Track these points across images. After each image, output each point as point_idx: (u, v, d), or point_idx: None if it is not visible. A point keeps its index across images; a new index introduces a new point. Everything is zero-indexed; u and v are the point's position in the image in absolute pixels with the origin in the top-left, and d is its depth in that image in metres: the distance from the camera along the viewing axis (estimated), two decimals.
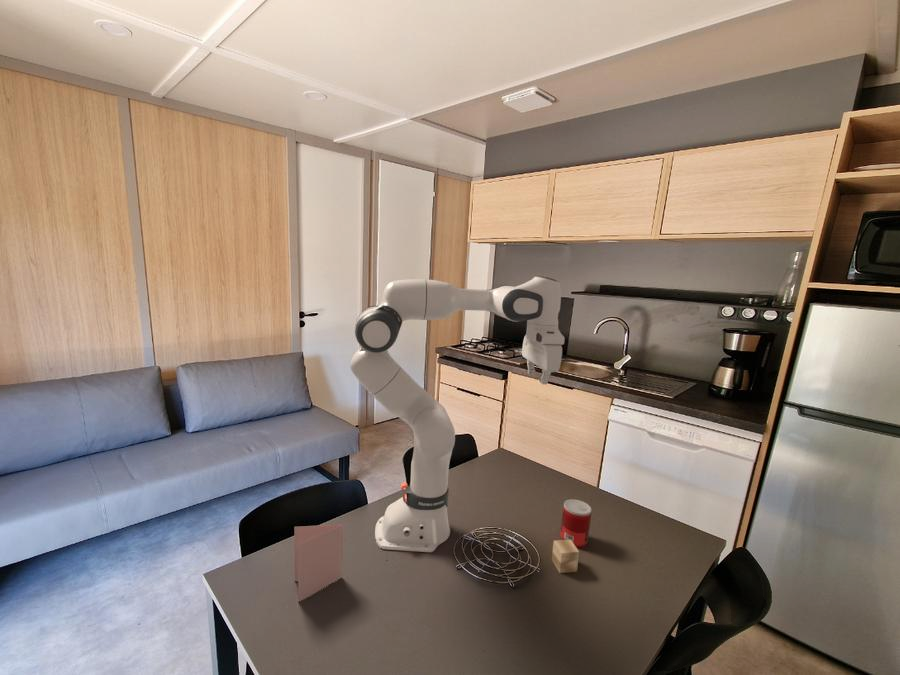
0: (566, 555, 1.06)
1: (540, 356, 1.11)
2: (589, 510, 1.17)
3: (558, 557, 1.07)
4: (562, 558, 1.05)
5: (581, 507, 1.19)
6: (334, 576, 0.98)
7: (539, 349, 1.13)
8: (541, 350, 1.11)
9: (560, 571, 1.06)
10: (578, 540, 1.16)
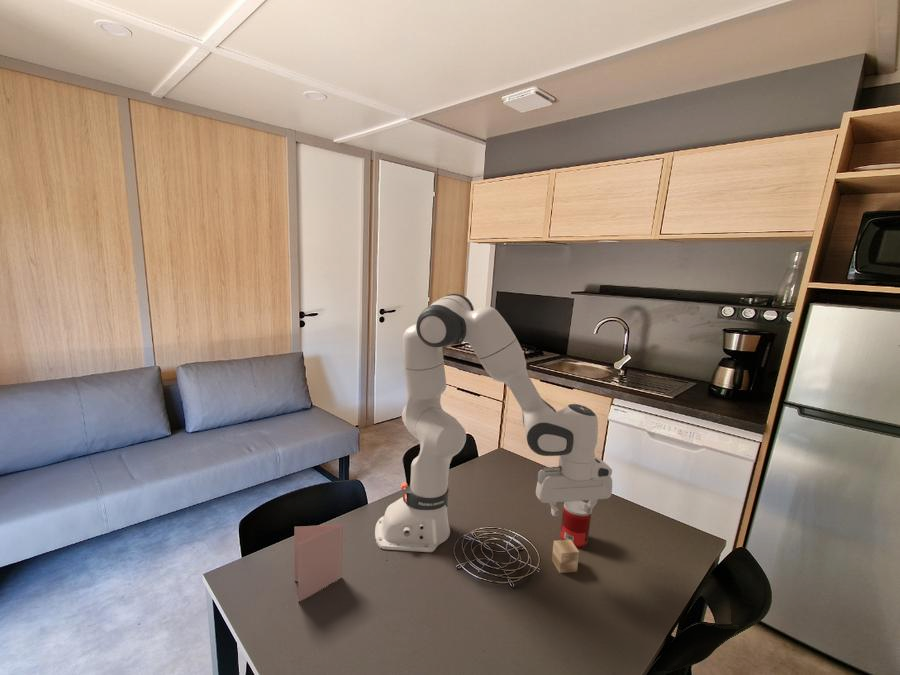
0: (566, 555, 1.06)
1: (594, 489, 1.04)
2: None
3: (558, 557, 1.07)
4: (562, 558, 1.05)
5: (581, 507, 1.19)
6: (334, 576, 0.98)
7: (588, 483, 1.04)
8: (593, 482, 1.04)
9: (560, 571, 1.06)
10: (578, 540, 1.16)
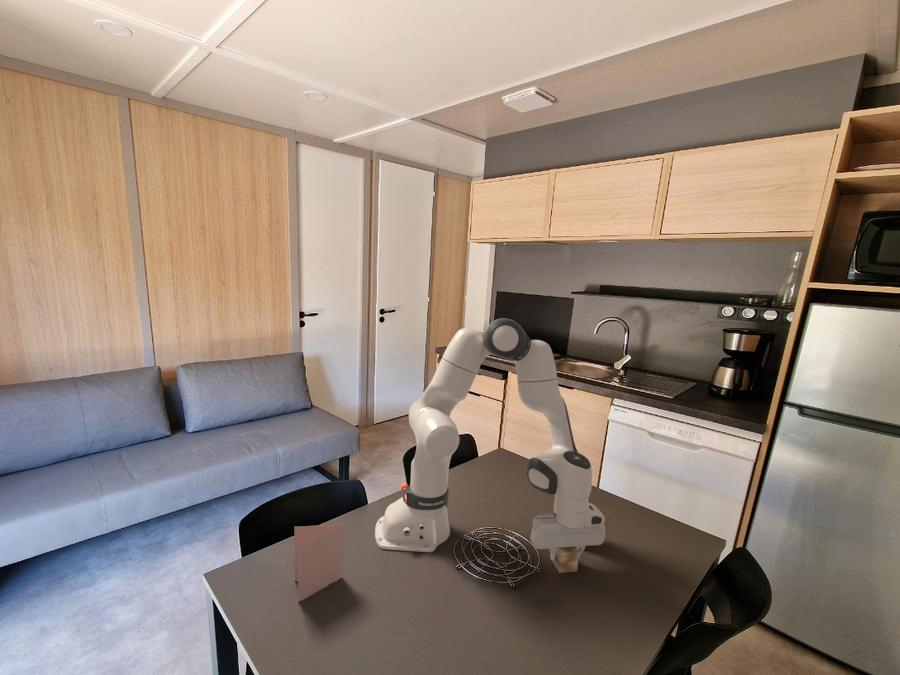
0: (566, 555, 1.06)
1: (587, 535, 1.07)
2: None
3: (558, 557, 1.07)
4: (562, 557, 1.05)
5: None
6: (334, 576, 0.98)
7: (581, 529, 1.06)
8: (586, 529, 1.06)
9: (560, 571, 1.06)
10: None
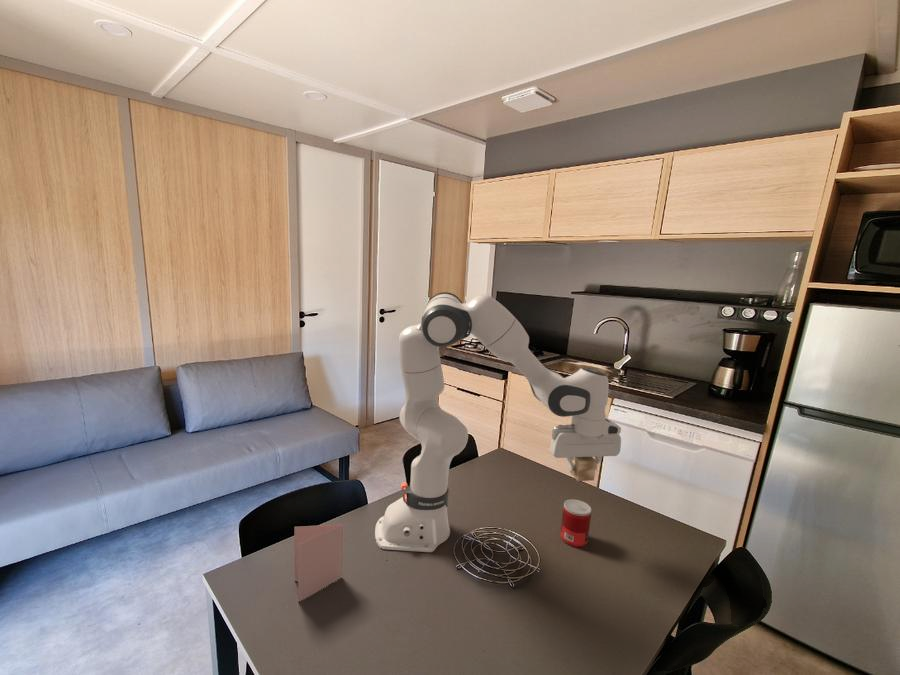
0: (584, 464, 1.12)
1: (604, 446, 1.12)
2: (589, 510, 1.17)
3: (576, 467, 1.13)
4: (580, 466, 1.12)
5: (581, 507, 1.19)
6: (334, 576, 0.98)
7: (598, 440, 1.12)
8: (603, 440, 1.12)
9: (578, 479, 1.12)
10: (578, 540, 1.16)
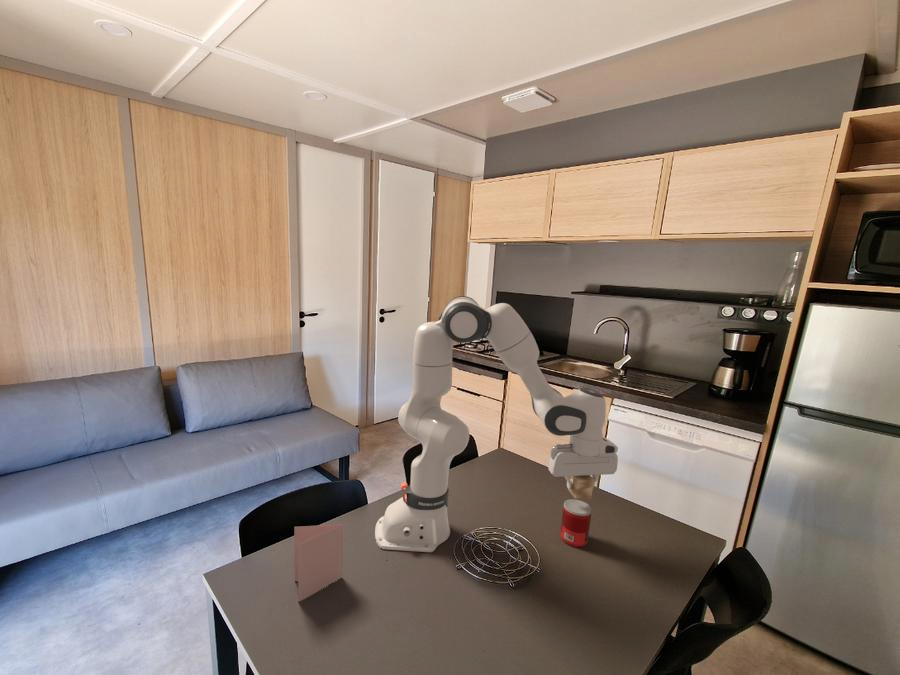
0: (582, 482, 1.14)
1: (601, 465, 1.15)
2: (589, 510, 1.17)
3: (574, 485, 1.16)
4: (578, 484, 1.14)
5: (581, 507, 1.19)
6: (334, 576, 0.98)
7: (596, 459, 1.15)
8: (600, 459, 1.15)
9: (576, 497, 1.15)
10: (578, 540, 1.16)
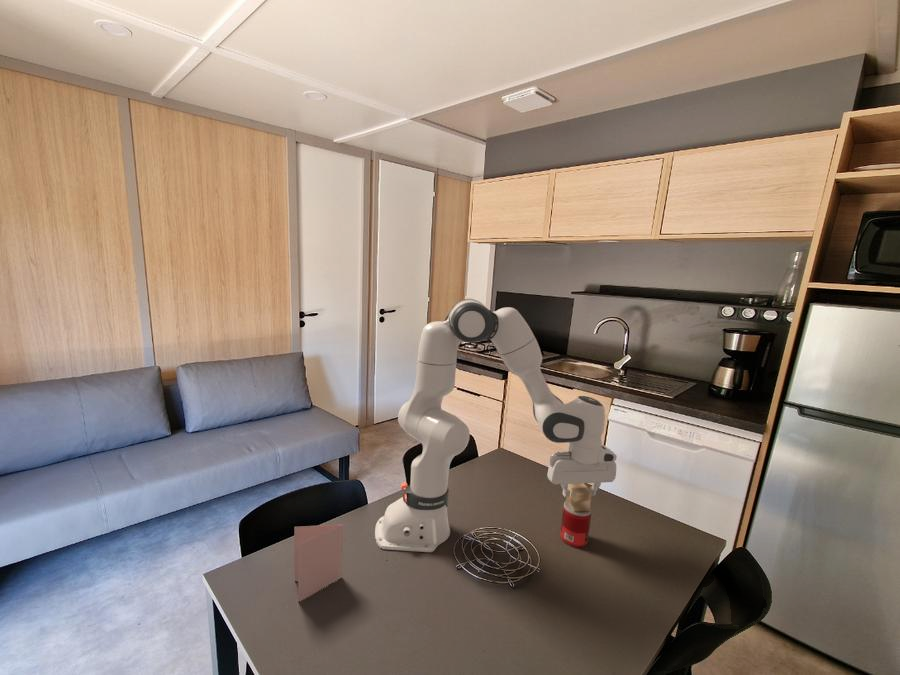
0: (580, 495, 1.15)
1: (600, 473, 1.16)
2: None
3: (572, 498, 1.16)
4: (576, 497, 1.15)
5: None
6: (334, 576, 0.98)
7: (594, 467, 1.15)
8: (599, 467, 1.15)
9: (574, 510, 1.15)
10: (578, 540, 1.16)
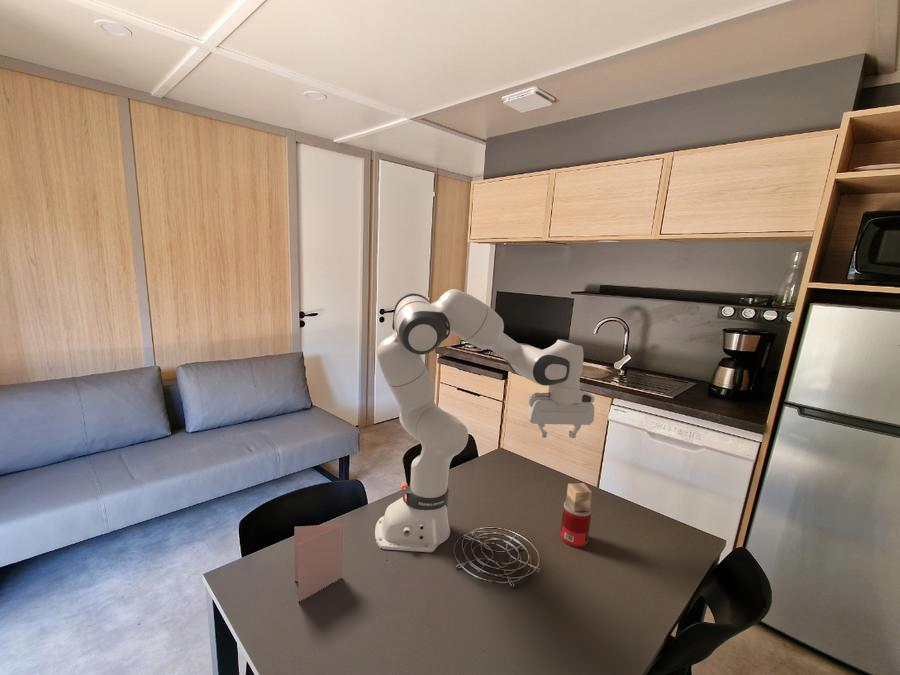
0: (580, 495, 1.15)
1: (578, 414, 1.19)
2: None
3: (572, 498, 1.16)
4: (576, 497, 1.15)
5: None
6: (334, 576, 0.98)
7: (573, 409, 1.18)
8: (577, 409, 1.19)
9: (574, 510, 1.16)
10: (578, 540, 1.16)
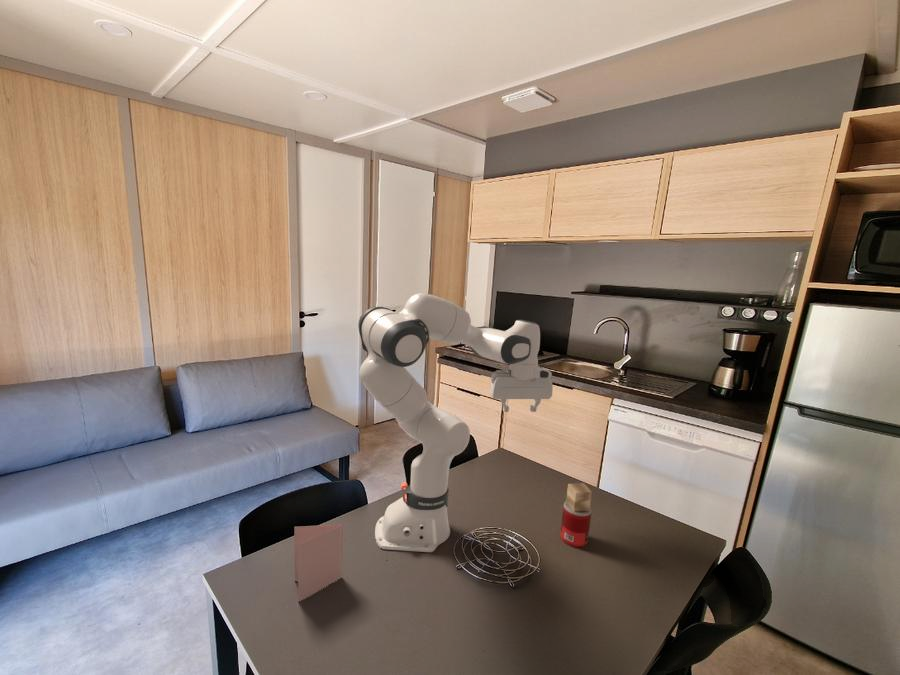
0: (580, 495, 1.15)
1: (537, 389, 1.27)
2: None
3: (572, 498, 1.16)
4: (576, 497, 1.15)
5: None
6: (334, 576, 0.98)
7: (532, 384, 1.27)
8: (536, 384, 1.27)
9: (574, 510, 1.16)
10: (578, 540, 1.16)
